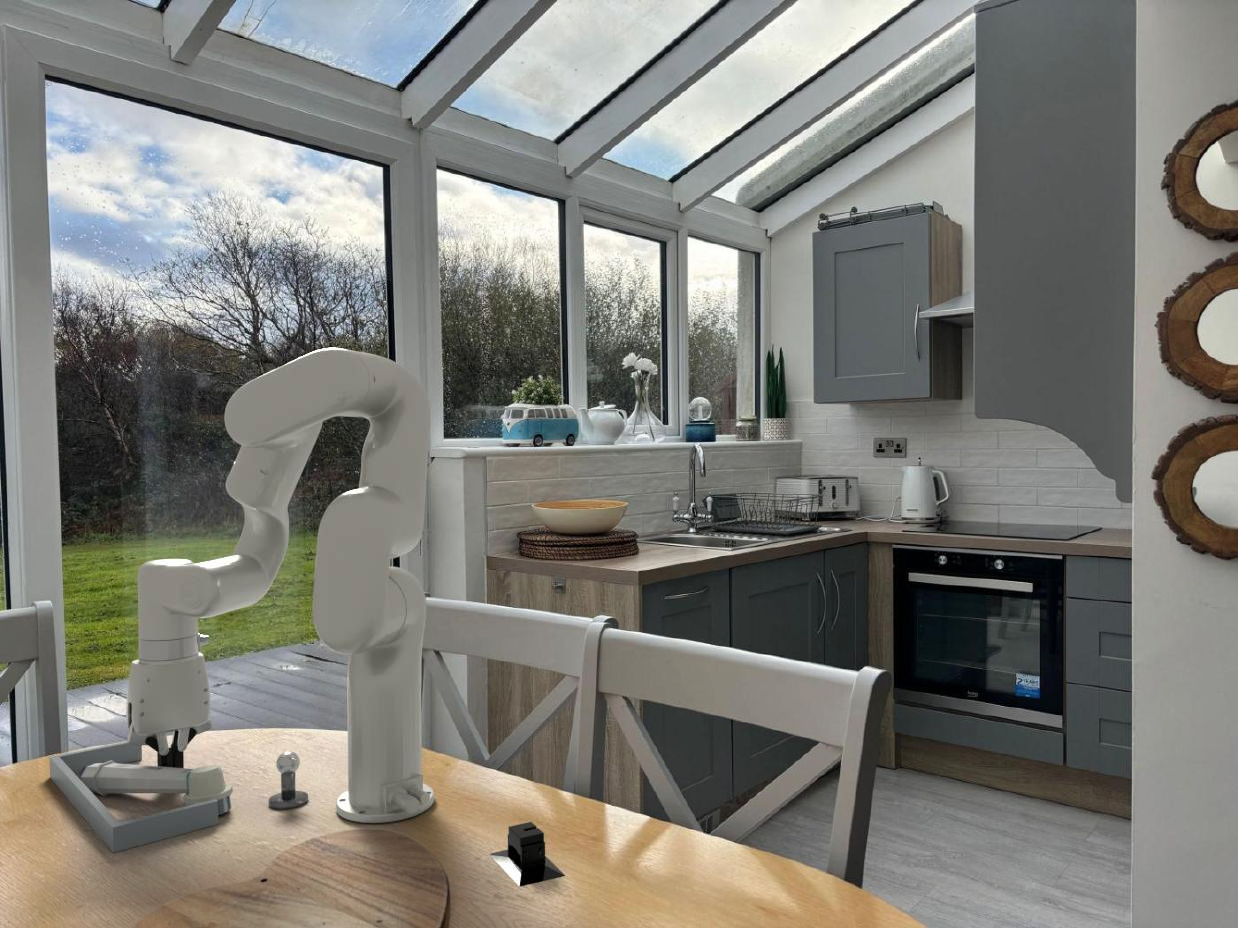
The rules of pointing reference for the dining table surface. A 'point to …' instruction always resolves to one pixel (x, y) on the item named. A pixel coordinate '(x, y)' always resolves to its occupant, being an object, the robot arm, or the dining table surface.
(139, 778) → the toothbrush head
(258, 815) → the dining table surface
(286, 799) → the ball stud
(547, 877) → the black slotted block
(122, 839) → the bay
